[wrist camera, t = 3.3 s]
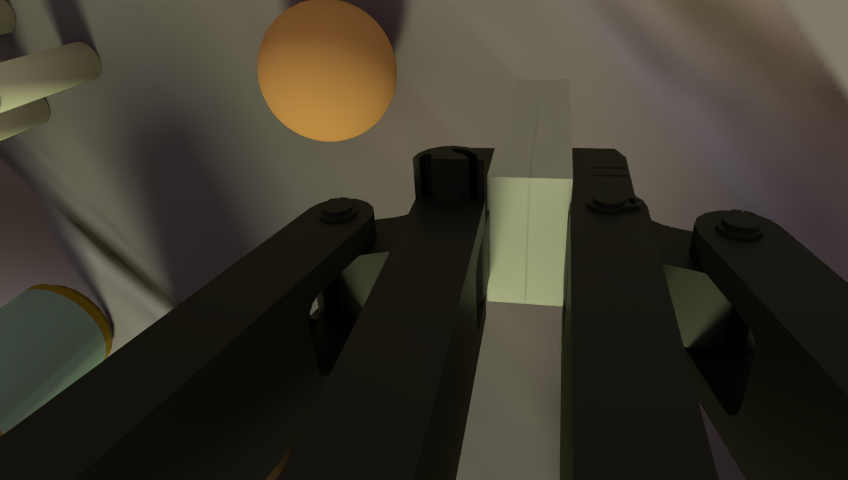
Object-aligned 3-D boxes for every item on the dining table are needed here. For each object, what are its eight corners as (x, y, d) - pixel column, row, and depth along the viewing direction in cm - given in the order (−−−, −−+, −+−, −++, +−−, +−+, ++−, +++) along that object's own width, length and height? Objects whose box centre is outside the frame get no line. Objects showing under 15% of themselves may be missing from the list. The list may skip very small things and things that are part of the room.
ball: (405, -13, 26) (366, 6, 21) (414, 118, 29) (382, 163, 24) (281, -8, 27) (216, 11, 22) (301, 117, 30) (247, 159, 25)
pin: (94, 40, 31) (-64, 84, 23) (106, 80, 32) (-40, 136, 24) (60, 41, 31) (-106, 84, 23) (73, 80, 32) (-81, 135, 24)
